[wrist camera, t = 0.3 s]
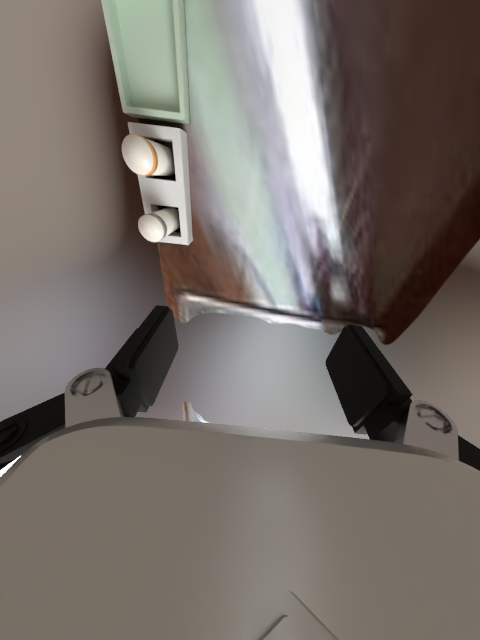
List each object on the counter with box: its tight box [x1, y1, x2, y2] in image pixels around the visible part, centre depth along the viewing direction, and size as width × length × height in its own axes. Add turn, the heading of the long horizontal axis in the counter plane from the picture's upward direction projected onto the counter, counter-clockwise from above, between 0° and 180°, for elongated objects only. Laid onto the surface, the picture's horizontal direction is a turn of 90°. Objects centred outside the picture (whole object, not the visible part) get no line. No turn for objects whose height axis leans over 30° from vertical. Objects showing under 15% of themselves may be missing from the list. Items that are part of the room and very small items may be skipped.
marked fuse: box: [122, 134, 175, 176], centre depth 26 cm, size 4×4×9 cm
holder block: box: [128, 122, 193, 245], centre depth 30 cm, size 15×7×3 cm, turn 175°
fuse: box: [138, 207, 180, 242], centre depth 30 cm, size 4×4×9 cm
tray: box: [101, 0, 190, 124], centre depth 22 cm, size 10×8×2 cm
